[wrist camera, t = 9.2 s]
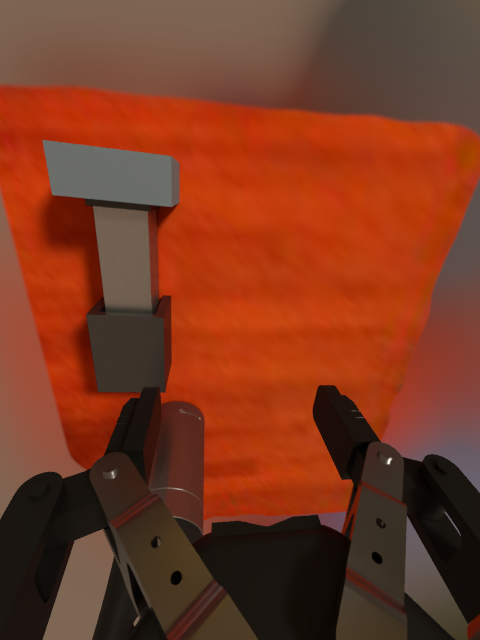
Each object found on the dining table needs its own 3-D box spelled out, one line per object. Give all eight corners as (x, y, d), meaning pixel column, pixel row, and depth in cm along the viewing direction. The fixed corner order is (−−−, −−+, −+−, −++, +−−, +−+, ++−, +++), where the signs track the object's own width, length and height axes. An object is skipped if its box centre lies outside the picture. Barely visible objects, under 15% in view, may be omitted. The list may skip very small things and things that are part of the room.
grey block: (179, 202, 31) (171, 207, 25) (86, 193, 30) (52, 194, 23) (179, 163, 30) (171, 156, 23) (81, 151, 28) (42, 140, 22)
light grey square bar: (162, 317, 37) (155, 337, 32) (117, 315, 36) (102, 335, 31) (159, 176, 30) (149, 173, 25) (102, 169, 29) (80, 165, 24)
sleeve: (171, 361, 41) (165, 392, 34) (115, 360, 39) (98, 391, 33) (170, 295, 36) (163, 317, 30) (107, 292, 35) (86, 314, 29)
